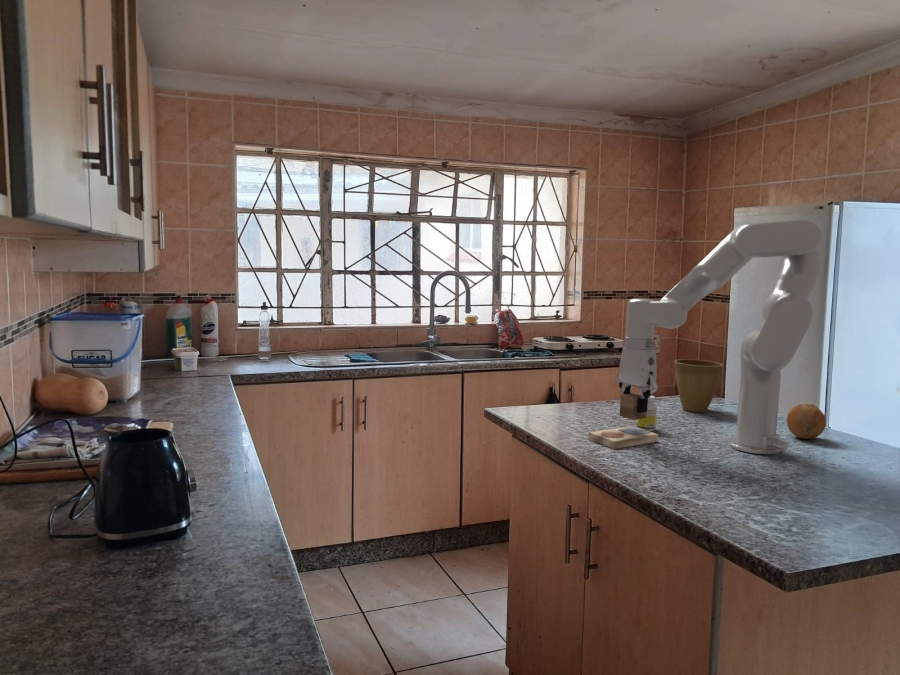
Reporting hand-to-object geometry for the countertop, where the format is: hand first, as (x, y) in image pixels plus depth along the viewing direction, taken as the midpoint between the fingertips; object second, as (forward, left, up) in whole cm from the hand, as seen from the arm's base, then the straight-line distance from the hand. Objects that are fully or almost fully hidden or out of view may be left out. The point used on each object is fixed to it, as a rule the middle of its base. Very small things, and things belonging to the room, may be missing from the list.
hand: (634, 409), depth 183 cm
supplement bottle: (+6, -11, -9) cm, 15 cm away
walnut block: (0, 0, -2) cm, 2 cm away
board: (0, +4, -8) cm, 9 cm away
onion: (-21, -45, -9) cm, 51 cm away
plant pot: (+17, -45, -9) cm, 49 cm away
